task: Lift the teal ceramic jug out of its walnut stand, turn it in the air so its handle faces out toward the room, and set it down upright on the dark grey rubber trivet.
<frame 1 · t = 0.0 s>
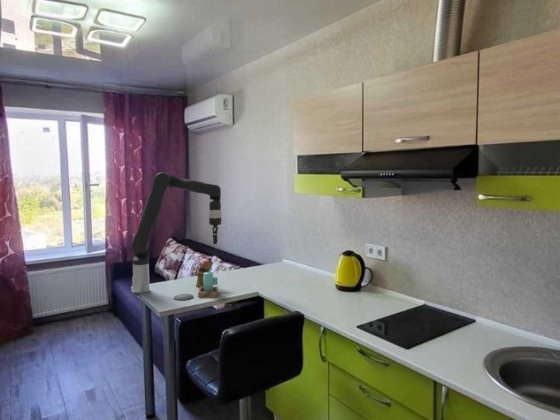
hand: (215, 242, 242), 29 cm above the table, fingers open, 8 cm apart
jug: (210, 283, 232), in the stand
trivet: (183, 297, 226), on the table
stand: (208, 294, 233), on the table
brown figurine: (204, 287, 249), on the table
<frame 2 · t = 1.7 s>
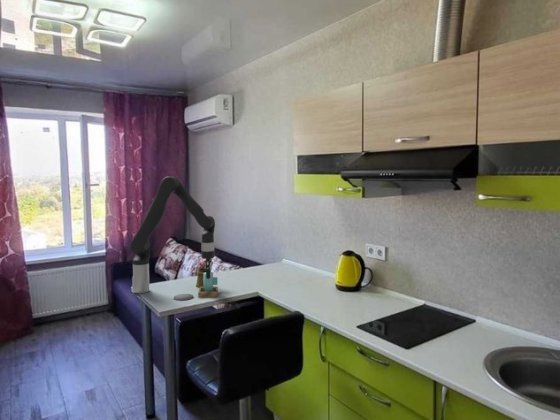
hand: (208, 276, 232), 11 cm above the table, fingers open, 8 cm apart
nothing on the table moved.
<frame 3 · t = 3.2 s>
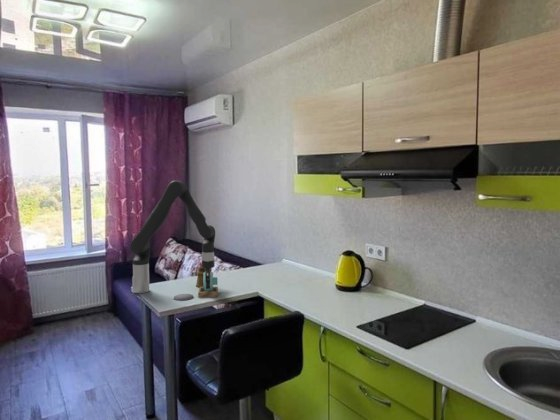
hand: (208, 286, 232), 5 cm above the table, fingers closed on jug, 5 cm apart
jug: (210, 283, 232), in the stand, touching gripper
everything else where it was.
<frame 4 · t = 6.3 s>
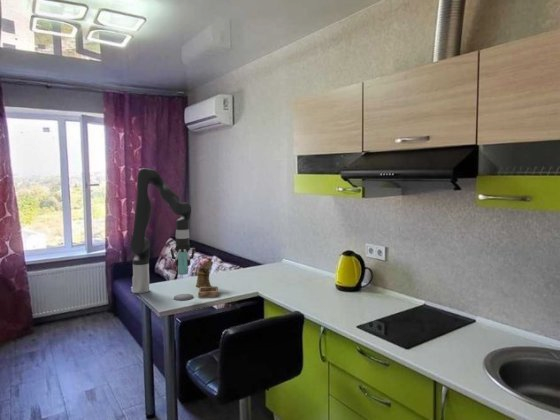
hand: (182, 265, 225), 19 cm above the table, fingers closed on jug, 5 cm apart
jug: (182, 263, 223), point 21 cm above the table, touching gripper
everything else where it was.
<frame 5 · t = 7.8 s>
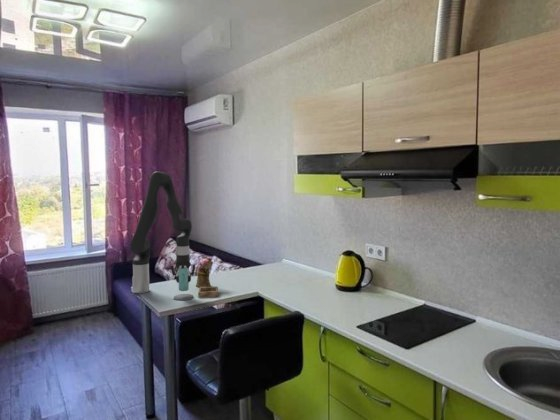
hand: (183, 282, 225), 9 cm above the table, fingers closed on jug, 5 cm apart
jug: (183, 279, 224), point 11 cm above the table, touching gripper
everything else where it was.
when the fingers open (6 cm above the table, at t = 9.3 s): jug drops 1 cm, resting on trivet.
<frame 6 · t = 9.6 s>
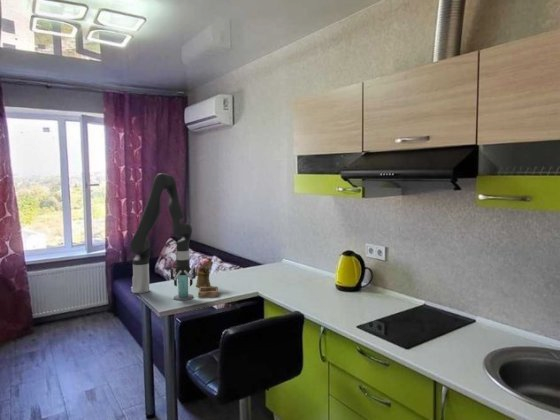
hand: (183, 285, 225), 7 cm above the table, fingers open, 8 cm apart
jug: (182, 286, 224), on the trivet
everything else where it was.
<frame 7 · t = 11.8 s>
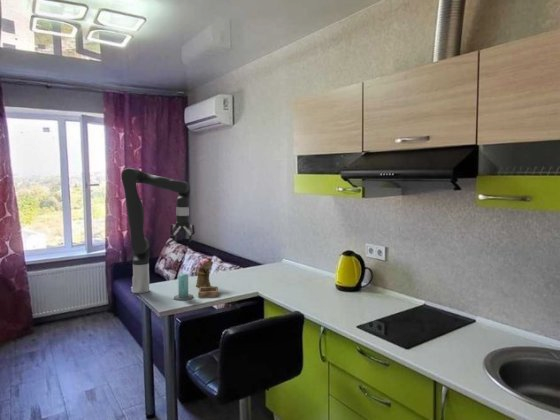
hand: (182, 241, 234), 31 cm above the table, fingers open, 8 cm apart
nothing on the table moved.
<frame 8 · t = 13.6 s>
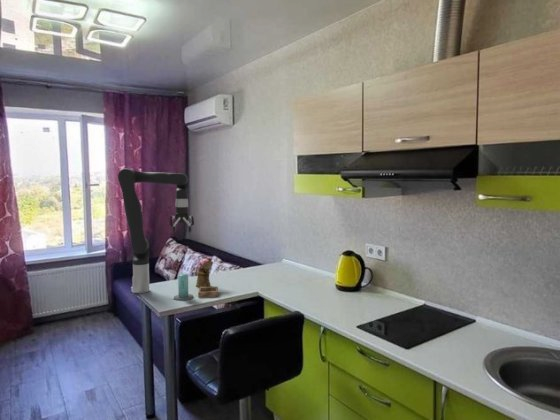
hand: (182, 232, 239), 36 cm above the table, fingers open, 8 cm apart
nothing on the table moved.
at the end: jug inside the target area on the trivet (0.0 cm from its centre), point 7.1 cm above the trivet's base; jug tilted 0°; the gripper is holding nothing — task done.
